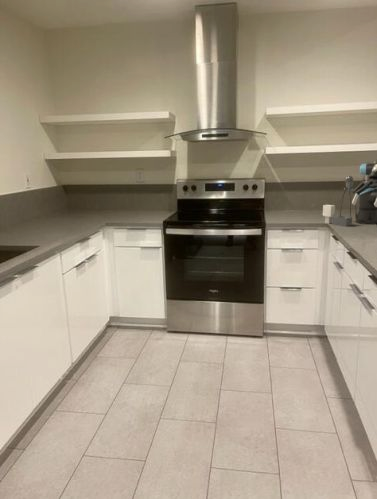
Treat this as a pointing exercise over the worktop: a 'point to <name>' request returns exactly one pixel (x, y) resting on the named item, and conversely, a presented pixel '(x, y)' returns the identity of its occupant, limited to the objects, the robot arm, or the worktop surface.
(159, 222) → the worktop surface
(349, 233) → the worktop surface
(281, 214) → the worktop surface
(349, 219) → the socket block
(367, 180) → the robot arm
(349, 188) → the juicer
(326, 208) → the plug
